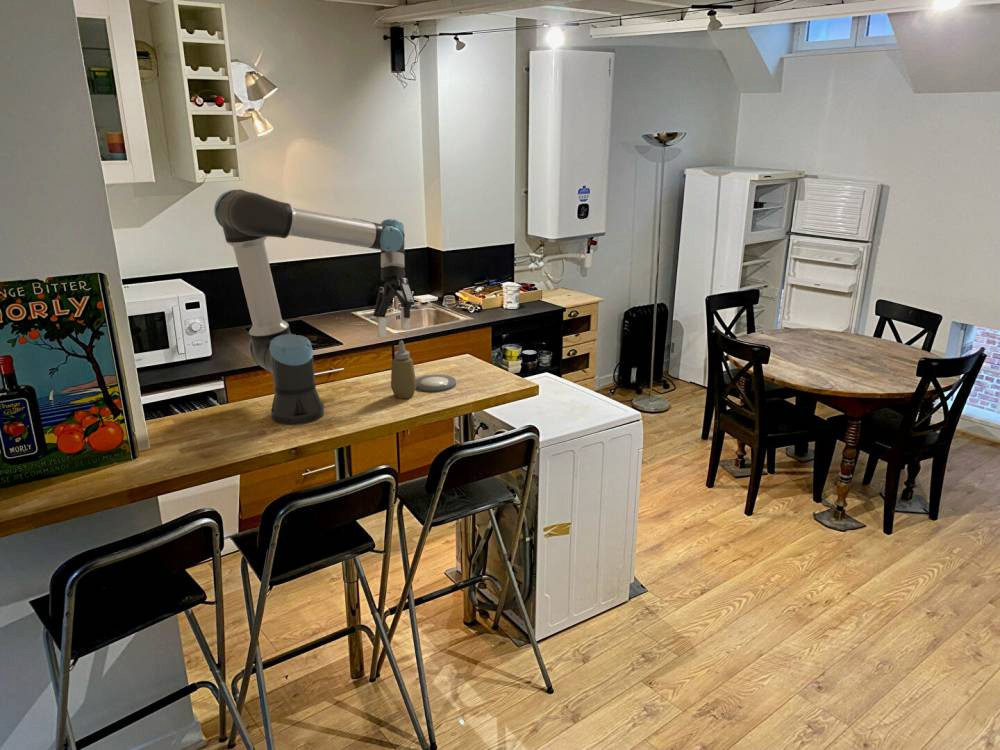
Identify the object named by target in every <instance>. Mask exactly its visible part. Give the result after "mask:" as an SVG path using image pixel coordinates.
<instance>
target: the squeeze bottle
mask: <svg viewBox="0 0 1000 750" xmlns="http://www.w3.org/2000/svg"><path fill="white" fill-rule="evenodd" d="M413 360H414V359H412V358H411V357H410V351H409V350H406V346H405V344H404V341H403V340H399V341H398V347H397V351H395V352H394V358H393V359H392V360H391V372H390V373H391V374H390V387H391V390H392V392H393V395H394V397H396V398H397V399H409V398H412V397H414V394H415V392H416V379H417V378H416V373H415V367H414V361H413Z"/></svg>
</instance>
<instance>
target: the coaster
mask: <svg viewBox="0 0 1000 750" xmlns="http://www.w3.org/2000/svg"><path fill="white" fill-rule="evenodd" d="M415 379H416V388H415V390H418V391H422V392H428V393H430V392H431V393H436V392H437V393H438V392H444V391H449V390H451V389H453V388H455V387H456V386H457V380H456V378H455V377H454V376H451V375H445V374H429V375H422V376H419V377H417V378H415Z"/></svg>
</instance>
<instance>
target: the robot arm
mask: <svg viewBox="0 0 1000 750" xmlns="http://www.w3.org/2000/svg"><path fill="white" fill-rule="evenodd" d="M213 212H214V217H215V219H216V222H217V223H218V225H219V226H220V227H222V231H223V235H224V238H225V242H226V244H228V245H229V246H231V247H232V248H233V252H234V255H235V259H236V263H237V267H238V271H239V275H240V279H241V284H242V287H243V291H244V295H245V299H246V303H247V308H248V312H249V315H250V319H251V324H252V326H251V328H250V329H249V331H248V334H249V339H250V340H249V343H248V351H249V354H250V357H251V358H252V360H253V361H254V363H256V364H257V365H258V366H259V367H261V368H262V369H264V370H266V371H268V372H269V373H271V374H272V377H273V386H274V396H273V400H272V404H271V410H270V416H271V421H273V422H274V423H276V424H279V425H285V426H286V425H290V426H291V425H293V426H294V425H303V424H304V425H305V424H308V423H311V422H313V421H314V422H315V421H317V420H319V419H320V418H322V417H323V416H324V414H325V406H324V404H323V402H322V400H321V397H320V395H319V393H318V390H317V388H316V376H315V365H314V350H313V347H312V342H311V341H310V339H309V338H308V337H306V336H304V335H300V334H297V335H296V334H294V333H291V330H290V325H289V323H288V322H286V321H285V320H283V318H282V314H281V308H280V304H279V302H278V297H277V292H276V287H275V284H274V283H275V282H274V279H273V275H272V271H271V267H270V261H269V257H268V254H267V253H268V252H267V249H266V245H265V241H266V239H267V238H268V237H269V238H279V239H286V238H288V237H289V236H291V237H292V236H293V237H297V238H302V239H303V238H304V239H309V240H315V241H316V240H317V241H324V242H329V243H335V244H341V245H350V246H354V247H360V248H362V247H363V248H368V249H374V250H378V251H380V267H381V269H380V279H381V281H382V282H384V286H379V287H378V289H377V290H378V293H377V297H376V301H375V306H374V309H373V310H374V311H373V315H372V316H373V317H375V318H377V337H378V338H384V339H386V338H387V316H386V314H387V312H388V309H389V306H390V304H391V301H393V299H394V298H397V300H398V302H399V303H400V329H401V330H407V331H408V330H409V331H410V329H411V327H410V326H411V322H410V321H411V319H410V318H411V308H412V306H413V305H415V301H414V298H413V297H414V296H413V294H412V291H411V288H410V285H409V278H406V276H405V275H406V271H405V269H404V268H405V266H406V265H405V236H406V235H405V227H404V223H403V222H402V221H401V220H399V219H395V218H393V219H392V218H391V219H390V218H387V219H384V220H382V221H381V222H380V223H378V222H375V221H368V220H363V219H361V218H360V219H359V218H353V217H352V218H350V217H345V216H339V215H335V214H334V215H333V214H327V213H322V212H317V211H311V210H305V209H302V208H294V207H293V205H292V204H290V203H288V202H284V201H280V200H276V199H273V198H269V197H267V196H264V195H262V194H259V193H257V192H256V193H255V192H251V191H247V190H244V189H231V190H227V191H225V192H223V193H222V194H221V195H219V197H218V198H217V200H216V201H215V204H214V209H213Z"/></svg>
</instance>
